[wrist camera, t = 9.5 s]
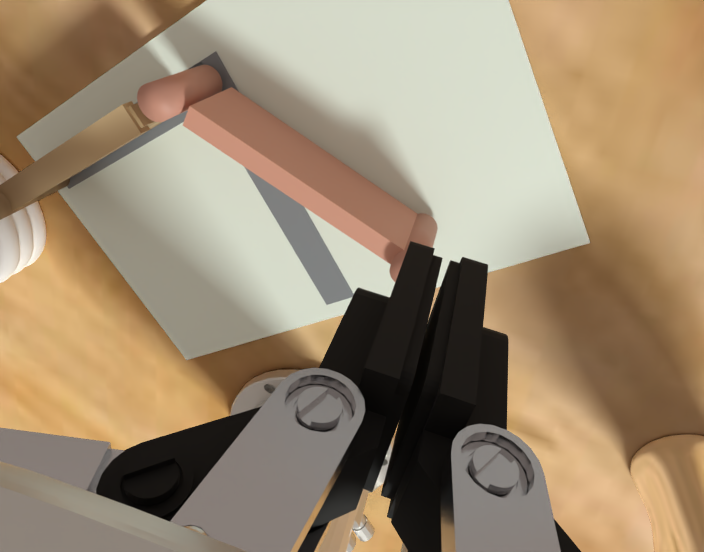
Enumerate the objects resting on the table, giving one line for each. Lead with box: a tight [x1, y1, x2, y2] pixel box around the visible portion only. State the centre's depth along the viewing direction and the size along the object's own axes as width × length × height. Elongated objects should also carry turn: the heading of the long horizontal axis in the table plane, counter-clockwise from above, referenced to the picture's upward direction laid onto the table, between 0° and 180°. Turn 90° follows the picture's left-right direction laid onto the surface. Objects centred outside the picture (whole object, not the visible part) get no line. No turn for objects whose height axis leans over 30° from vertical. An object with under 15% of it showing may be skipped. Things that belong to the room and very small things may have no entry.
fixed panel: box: [0, 101, 164, 220], centre depth 27 cm, size 2×12×5 cm, turn 119°
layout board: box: [17, 0, 590, 360], centre depth 28 cm, size 18×28×1 cm, turn 118°
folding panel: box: [137, 65, 438, 282], centre depth 24 cm, size 15×2×5 cm, turn 60°
